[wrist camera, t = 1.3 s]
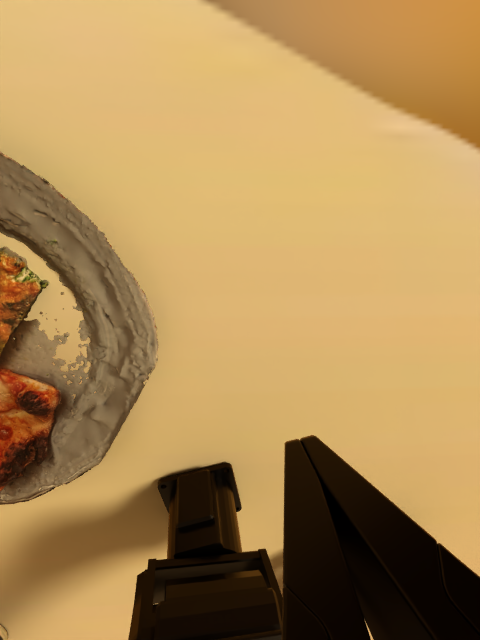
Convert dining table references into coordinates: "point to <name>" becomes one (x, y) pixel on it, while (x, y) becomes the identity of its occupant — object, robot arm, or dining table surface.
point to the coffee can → (3, 633)
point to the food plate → (63, 342)
